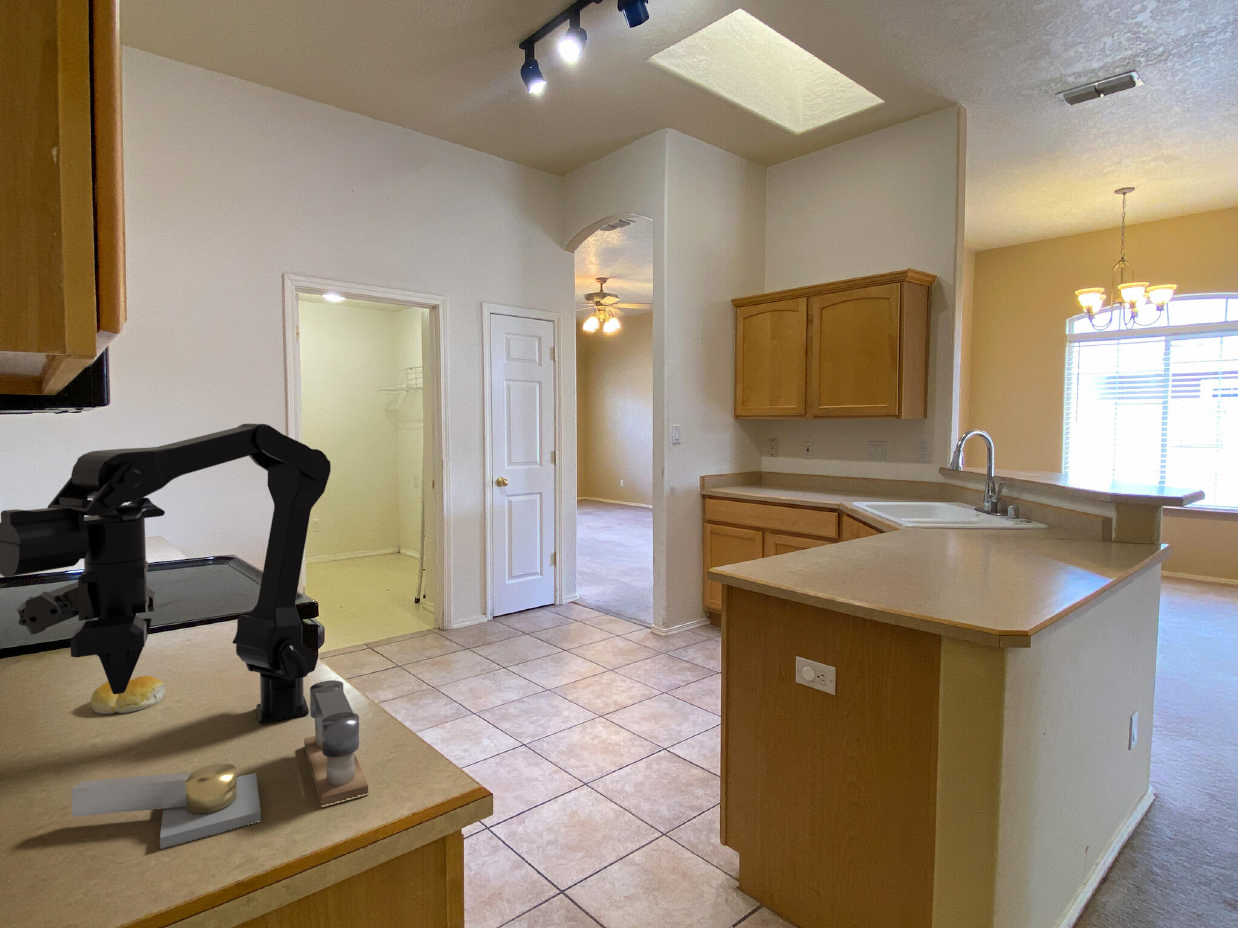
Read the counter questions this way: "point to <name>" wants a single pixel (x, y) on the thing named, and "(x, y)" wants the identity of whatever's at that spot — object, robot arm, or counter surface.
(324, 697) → the grey knobbed rod
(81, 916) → the counter surface
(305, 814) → the counter surface
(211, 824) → the plate
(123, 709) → the bread roll
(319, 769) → the peg rack
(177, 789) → the lever switch
